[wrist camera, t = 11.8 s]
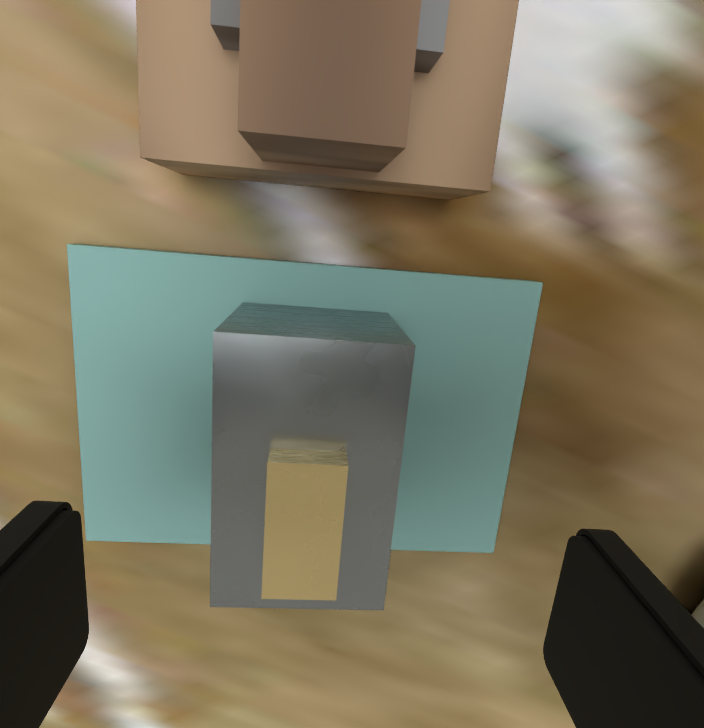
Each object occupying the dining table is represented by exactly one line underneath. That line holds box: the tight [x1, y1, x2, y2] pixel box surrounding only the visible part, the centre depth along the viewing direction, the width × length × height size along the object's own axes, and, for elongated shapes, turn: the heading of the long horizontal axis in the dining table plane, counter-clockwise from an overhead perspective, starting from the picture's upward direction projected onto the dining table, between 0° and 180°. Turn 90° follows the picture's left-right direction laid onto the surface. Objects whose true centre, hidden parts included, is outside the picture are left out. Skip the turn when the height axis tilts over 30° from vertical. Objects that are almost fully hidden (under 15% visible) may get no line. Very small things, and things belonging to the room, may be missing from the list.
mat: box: [67, 244, 543, 553], centre depth 18 cm, size 16×11×1 cm
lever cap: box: [210, 302, 416, 610], centre depth 15 cm, size 5×8×6 cm, turn 175°
